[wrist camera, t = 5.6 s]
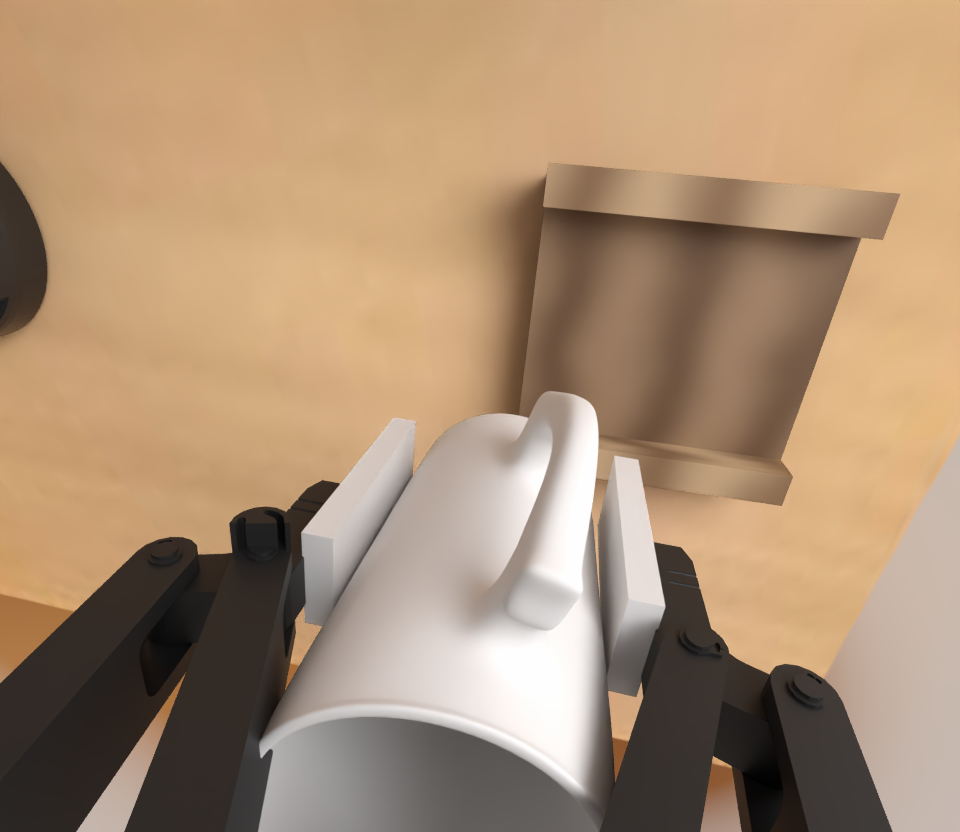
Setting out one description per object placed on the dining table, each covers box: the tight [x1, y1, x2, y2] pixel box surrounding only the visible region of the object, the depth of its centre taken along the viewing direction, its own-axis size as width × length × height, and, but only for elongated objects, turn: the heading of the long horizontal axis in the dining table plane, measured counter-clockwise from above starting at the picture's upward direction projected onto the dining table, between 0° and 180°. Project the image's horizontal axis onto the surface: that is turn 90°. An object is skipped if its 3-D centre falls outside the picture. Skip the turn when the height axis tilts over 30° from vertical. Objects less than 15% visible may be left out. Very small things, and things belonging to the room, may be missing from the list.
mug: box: [258, 391, 615, 832], centre depth 14 cm, size 10×7×12 cm, turn 158°
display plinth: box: [519, 163, 900, 506], centre depth 31 cm, size 16×17×4 cm
